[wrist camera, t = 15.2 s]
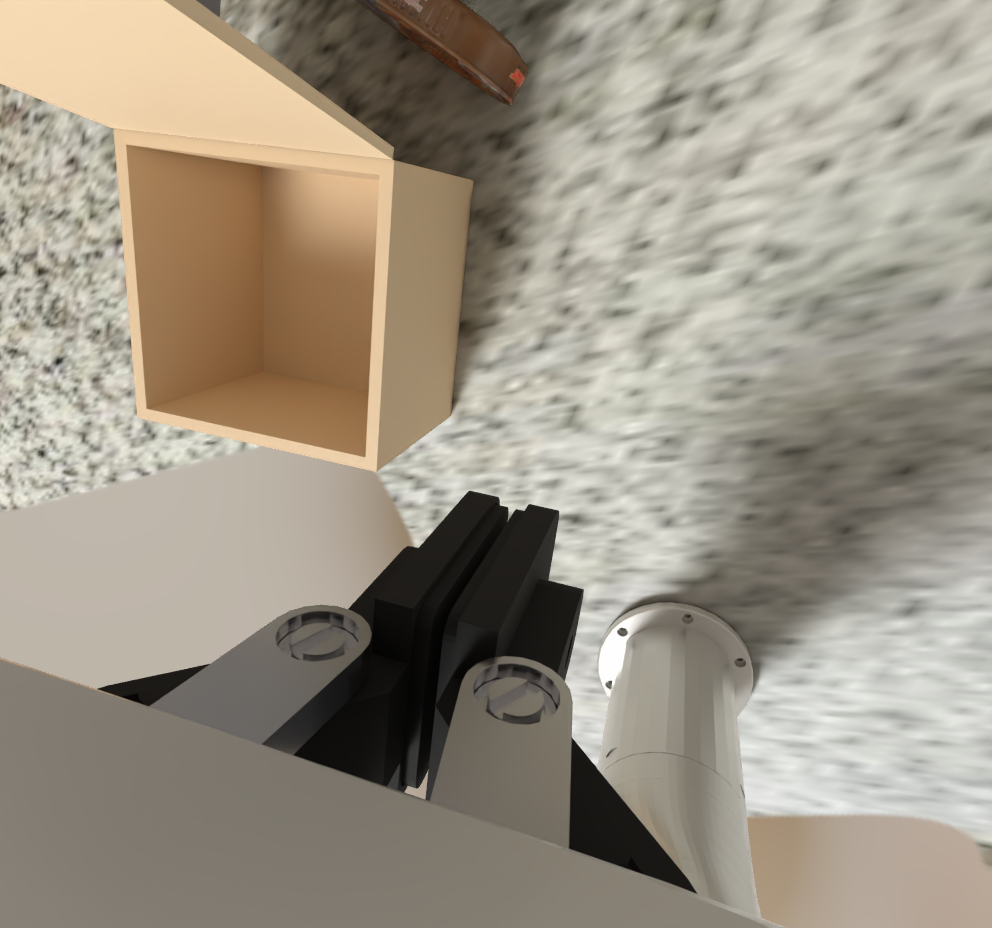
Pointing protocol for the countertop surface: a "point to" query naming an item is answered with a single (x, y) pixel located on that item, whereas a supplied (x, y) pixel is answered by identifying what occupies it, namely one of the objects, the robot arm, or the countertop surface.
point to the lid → (169, 74)
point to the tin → (458, 42)
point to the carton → (291, 293)
